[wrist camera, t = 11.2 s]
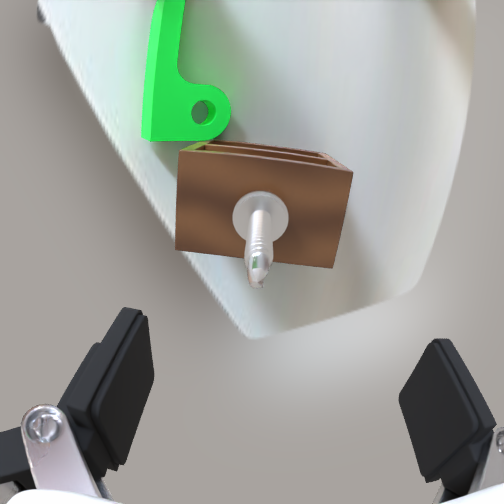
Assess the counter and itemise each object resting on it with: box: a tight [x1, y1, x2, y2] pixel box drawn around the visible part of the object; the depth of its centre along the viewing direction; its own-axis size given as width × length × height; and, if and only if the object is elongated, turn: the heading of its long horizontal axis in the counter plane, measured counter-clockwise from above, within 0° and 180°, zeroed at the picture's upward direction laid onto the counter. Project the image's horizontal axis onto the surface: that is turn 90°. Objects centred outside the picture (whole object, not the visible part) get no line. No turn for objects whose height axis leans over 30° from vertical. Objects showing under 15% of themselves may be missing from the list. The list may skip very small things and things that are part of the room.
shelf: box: [175, 139, 353, 269], centre depth 35 cm, size 10×16×14 cm, turn 84°
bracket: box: [141, 0, 231, 142], centre depth 34 cm, size 20×10×7 cm
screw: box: [233, 191, 289, 289], centre depth 23 cm, size 13×5×5 cm
